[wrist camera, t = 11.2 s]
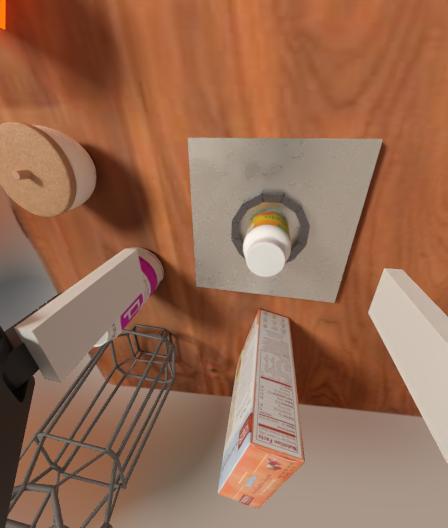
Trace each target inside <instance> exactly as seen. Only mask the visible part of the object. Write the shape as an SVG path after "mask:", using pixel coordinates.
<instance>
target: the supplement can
mask: <svg viewBox="0 0 448 528" xmlns="http://www.w3.org/2000/svg"><path fill="white" fill-rule="evenodd" d="M129 249H137V253H138V257H139V262H140V266H141V271H142V275H143V280H144V284H145V289H144V290H143V291H142V293H141V294H140V295H139V296H138V297H137V298H136V299H135V300H134V302H133V303H132V304H131V305H130V306H129V307H128V308H127V309H126V311H125V312H124V313H123V314H122V315H121V316H120V317H119V318H118V319H117V321H116V322H115V323H114V324H113V325H112V326H111V327H110V328H109V330H108V331H107V332H106V333H105V334H104V335H103V336H102V337H101V339H100V340H99V341H98V342H97V343H96V344H95V345H94V346H93V347H98V346H102V345H103V344H105V343H107V342H109V341H111V340H114V339H115V338H116V337H117V336H118V335H119V334H120V333H121V332H122V330H123V329H124V328H125V327H126V326H127V324H128V323H129V322H130V321H131V319H132V318H133V317H134V316H135V314H136V313H137V312H138V311H139V310H140V308H141V307H142V306H143V305H144V303H145V302H146V301H147V300H148V298H149V297H150V296H151V295H152V293H153V292H154V291H155V290H156V289H157V287H158V286H159V285H160V284H161V282H162V280H163V277H164V270H163V267H162V265H161V262H160V261H159V260H158V258H157V257H156V256H155V255H154V254H152V253H151V252H150V251H148V250H146V249H143V248H140V247H132V248H129Z"/></svg>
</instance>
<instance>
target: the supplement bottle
mask: <svg viewBox="0 0 448 528" xmlns="http://www.w3.org/2000/svg"><path fill="white" fill-rule="evenodd" d="M290 252H291V241H290V234H289V226H288V223H287V220H286V219H285V217H284V216H283V215H282V214H280V213H279V212H276V211H273V210H265V211H262V212H259V213H258V214H256V215H255V216H254V217H253V218H252V220H251V222H250V224H249V227H248V230H247V233H246V236H245V239H244V243H243V253H244V256H245V258H246V263H247V266H248V268H249V269H250V270H251V272H253V273H254V274H256V275H258V276H261V277H271V276H274V275H276V274H278V273H279V272H280V271H281V270H282V269H283V267H284V265H285V262H286V261H287V260H288V258H289V256H290Z"/></svg>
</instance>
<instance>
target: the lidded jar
mask: <svg viewBox="0 0 448 528" xmlns="http://www.w3.org/2000/svg"><path fill="white" fill-rule="evenodd" d="M0 184H1V186H2V187H3V188H4V190H5V191H6V192H7V194H8V195H9V196H10V197H11V198H12V199H13V200H14V201H15V202H16V203H17V204H18V205H20V206H21V207H23V208H24V209H26V210H27V211H29V212H31V213H33V214H36V215H39V216H43V217H54V216H58V215H61V214H63V213H65V212H67V211H70V210H72V209H74V208H76V207H78V206H80V205H82V204H83V203H84V202H86V201H87V200H88V199H89V198H90V196H91V195H92V194H93V191H94V189H95V186H96V168H95V165H94V163H93V161H92V159H91V157H90V156H89V154H88V153H87V152H86V150H85V149H84V148H83V147H82V146H81V145H80V144H79V143H78V142H77V141H76V140H74V139H73V138H71V137H70V136H68V135H67V134H65V133H63V132H60V131H58V130H55V129H52V128H48V127H44V126H40V125H32V124H27V123H22V122H6V123H3V124H1V125H0Z"/></svg>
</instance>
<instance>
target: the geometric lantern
mask: <svg viewBox="0 0 448 528" xmlns="http://www.w3.org/2000/svg"><path fill="white" fill-rule="evenodd" d="M135 326H137V327H143V328H150V329H156V330H162V332H161V334H160V335H154V334H147V333H140V332H135V331H134V328H135ZM164 331H165V332H166V335H165V337H164V336H162V334H163V332H164ZM122 332H125V333H127V334H120V335H118V336H117V337H119V336H126V335H127V338H128V341H129V345H130V348H131V352H132V355H133V357H131V358H129V359H128V360H126V361H124V362H123V363H121V364H119V365H117V360H116V355H115V350H114V345H113V340H111V341H109V342H107V343H105V344H103V345H102V346H101V347H100V348H99V349H98V351H97V352H96V353H95V355H94V356H93V357H92V359H91V360H90V362H89V363H88V364H87V366H86V367H85V368H84V370H83V371H82V372H81V374H80V375H79V376H78V378H77V379H76V380H75V382H74V383H73V384H72V386H71V387H70V388H69V390H68V391H67V393H66V394H65V395H64V397H63V398H62V399H61V401H60V402H59V403H58V405H57V406H56V407H55V409H54V410H53V411H52V413H51V414H50V415H49V417H48V418H47V419H46V421H45V422H44V424H43V425H42V426H41V428H40V429H39V430H38V432H37V433H36V434H35V435H34V436H33V438H32V439H31V441H30V442H29V443H28V445H27V446H26V448H25V449H24V451H23V452H22V454H21V455H20V458H19V461H20V459H21V458H22V456H23V455H24V453H25V452H26V451H27V449H28V448H29V446H30V445H31V443H32V442H33V441H35V443H36V444H37V446H38V447H37V449H36V451H35V454H34V456H33V459H32V461H31V463H30V466H29V468H28V470H27V473H26V475H25V478H24V480H23V482H22V485H19V486H16V487H13V492H12V494H13V495H12V497H11V501H12V500H13V501H12V502H11V504H10V507H9V511H8V514H9V513H10V511H11V510H12V508H13V506H14V505H15V504H16V502H17V500H18V499H19V497H20V496H21V494H22V493H23V492H24V491H25V490H27V491H37V492H47V495H46V497H45V499H44V501H43V503H42V505H41V507H40V509H39V511H38V513H37V515H36V517H35V518H34V521H33V522H32V524H31V525H27V524H24V523H20V522H17V521H14V520H10V519H7V521H6V526H5V528H35V527H36V523H37V522H38V519H39V518H40V516H41V514H42V512H43V509H44V508H45V506H46V503H47V502H48V500H49V498H50V496H51V501H52V507H53V513H54V515H53V522H54V523H55V525H53V526H51V527H50V528H69V527H67V526H65V525H63V520H62V515H61V509H60V504H59V499H58V487H59V486H60V485H61V484H63V483H64V482H66V481H67V480H68V479H70V478H73V479H77V480H81V481H85V482H89V483H93V484H97V485H101V486H105V487H109V493H108V494H107V495H106V496H105V498H104V499H103V500H102V501H101V503H100V504H99V505H98V506H97V508H96V509H95V510H94V511H93V512H92V514H91V515H90V516H89V517H88V519H87V520H86V521H85V522H84V523H83V525H82V526H81V527H80V528H85V527H86V526H87V525H88V523H89V522H90V520H91V519H92V518H93V517H94V516H95V515H96V513H97V512H98V511H99V510H100V508H101V507H102V506H103V504H104V503H105V502H106V501H107V500H108V501H107V507H106V514H105V520H104V524H103V525H102V526H101V528H113V527H112V526H111V525H110V524H109V521H110V518H111V515H112V512H113V509H114V506H115V502H116V499H117V496H118V493H119V490H120V488H124V489H126V484H127V482H128V480H129V478H130V476H131V474H132V471H133V469H134V467H135V465H136V463H137V460H138V458H139V456H140V454H141V452H142V450H143V447H144V445H145V443H146V441H147V439H148V437H149V434H150V432H151V430H152V428H153V426H154V423H155V421H156V419H157V417H158V415H159V412H160V410H161V408H162V406H163V404H164V402H165V400H166V397H167V395H168V393H169V391H170V389H171V387H172V385H173V382H174V380H175V345H174V344H172V343H171V342H170V335H169V332H168V331H167V330H165V329H162V328H155V327H149V326H142V325H135V324H134V325H133V327H132V328H131V330H126V329H123V330H122ZM129 334H133V337H134V341H135V345H136V349H137V351H136V353H135V354H134V352H133V348H132V345H131V341H130V338H129ZM135 335H139V336H144V337H149V338H153V339H158V340H160V342H159V344H158V346H157V348H156V350H155V352H154V354H152V353H147V352H142V351H141V350H139V349H138V345H137V341H136V337H135ZM167 335H168V340H167V339H166V338H167ZM163 341H164V343H165V349H166V356H164V355H158V354H157V353H158V351H159V349H160V347H161V345H162V343H163ZM166 343H167V344H168V345H169V347H170V353H169V355H168V350H167V344H166ZM109 344H110V346H111V351H112V355H113V360H114V365H115V367H114V368H113V370H112V371H111V373H110V375H109V376H108V378H107V379H106V381H105V382H104V384H103V385H102V387H101V389H100V390H99V392H98V393H97V395H96V396H95V398H94V400H93V401H92V403H91V404H90V406H89V408H88V409H87V411H86V412H85V414H84V415H83V417H82V418H81V420H80V422H79V423H78V425H77V426H76V428H75V430H74V431H73V433H72V434H71V436H70V437H69V439H67V438H63V437H59V436H55V435H51V434H49V433H50V432H51V430H52V429H53V427H54V426H55V424H56V423H57V421H58V420H59V418H60V417H61V415H62V414H63V412H64V411H65V409H66V408H67V406H68V405H69V403H70V402H71V400H72V399H73V397H74V396H75V394H76V393H77V392H78V390H79V389H80V387H81V386H82V384H83V382H84V381H85V380H86V378H87V377H88V375H89V374H90V372H91V371H92V369H93V368H94V366H95V365H96V363H97V362H98V360H99V359H100V357H101V356H102V354H103V353H104V351H105V350H106V348H107V347H108V345H109ZM171 347H172V349H171ZM138 351H139V352H140V353H141V354H140V356H139V357H138V359H137V358H136V357H135V356H136V354H137V353H138ZM142 354H148V355H153V356H152V358H151V360H142V359H140V357H141V356H142ZM156 356H159V357H165V358H166V360H165V362H159V361H154V359H155V357H156ZM171 357H172V367H173V372H172V369H171V365H170V359H171ZM133 358H134V359H136V360H135V362H134V363H133V364H132V366H131V367H130V369H129V370H128V372H127V373H126V372H124V371H123V370H122V369H121V368H120V367H119V366H121V365H123V364H124V363H126V362H128V361H129V360H131V359H133ZM93 361H94V362H93ZM137 361H143V362H149V364H148V366H147V368H146V370H145V372H144V374H143V376H139V375H134V374H129V372H130V370H131V369H132V367H133V366H134V364H135V363H136V362H137ZM152 363H160V364H163V366H162V368H161V370H160V372H159V373H158V375H157V377H156V379H154V378H149V377H146V376H147V374H148V372H149V370H150V367H151V365H152ZM91 364H92V365H91ZM167 364H168V365H169V368H170V371H171V374H172V379H170V380H168V376H167ZM88 368H89V369H88ZM165 368H166V381H164V380H159V378H160V377H161V375H162V373H163V371H164V369H165ZM116 369H118V370H119V371H120V372H121V373H122V374H123V375H124V376H123V377H122V379H121V380H120V382H119V383H118V385H117V386H116V388H115V389H114V391H113V392H112V394H111V395H110V397H109V398H108V400H107V401H106V403H105V405H104V406H103V407H102V409H101V410H100V412H99V414H98V415H97V417H96V418H95V420H94V421H93V422H92V424H91V426H90V427H89V429H88V430H87V432H86V433H85V435H84V436H83V438H82V439H81V441H80V442H78V441H74V440H72V439H73V437H74V436H75V434H76V432H77V431H78V429H79V428H80V426H81V424H82V423H83V421H84V420H85V418H86V416H87V415H88V413H89V412H90V410H91V408H92V407H93V405H94V404H95V402H96V400H97V398H98V397H99V396H100V394H101V392H102V391H103V389H104V388H105V386H106V384H107V383H108V381H109V379H110V378H111V376H112V375H113V373H114V371H115V370H116ZM86 371H87V372H86ZM85 372H86V373H85ZM84 374H85V375H84ZM83 375H84V376H83ZM126 376H130V377H134V378H139V379H141V380H140V382H139V384H138V386H137V388H136V390H135V392H134V394H133V396H132V398H131V400H130V402H129V404H128V406H127V408H126V410H125V412H124V414H123V416H122V418H121V420H120V422H119V424H118V426H117V428H116V430H115V432H114V434H113V435H112V437H111V440H110V441H109V443H108V445H107V447H106V449H105V448H101V447H98V446H94V445H90V444H86V443H83V442H84V440H85V439H86V437H87V436H88V434H89V432H90V431H91V429H92V428H93V426H94V425H95V423H96V422H97V420H98V419H99V417H100V416H101V414H102V413H103V411H104V410H105V408H106V406H107V405H108V403H109V402H110V400H111V398H112V397H113V396H114V394H115V393H116V391H117V389H118V388H119V386H120V385H121V383H122V382H123V380H124V379H125V377H126ZM82 377H83V378H82ZM81 378H82V379H81ZM80 379H81V381H80ZM144 380H149V381H154V383H153V385H152V387H151V389H150V391H149V393H148V394H147V396H146V398H145V400H144V402H143V404H142V406H141V408H140V409H139V411H138V413H137V415H136V417H135V419H134V421H133V423H132V425H131V426H130V428H129V430H128V432H127V434H126V436H125V438H124V440H123V442H122V444H121V446H120V448H119V450H118V452H117V454H116V453H115V452H114V451H113V450H112V449H111V447H112V445H113V443H114V441H115V439H116V437H117V435H118V433H119V431H120V429H121V427H122V425H123V423H124V421H125V419H126V417H127V414H128V413H129V410H130V408H131V406H132V404H133V402H134V400H135V398H136V396H137V394H138V392H139V390H140V388H141V386H142V384H143V382H144ZM79 381H80V382H79ZM78 382H79V383H78ZM157 382H159V383H164V385H163V387H162V389H161V391H160V393H159V395H158V397H157V399H156V401H155V403H154V405H153V407H152V409H151V411H150V413H149V415H148V417H147V419H146V421H145V423H144V425H143V427H142V429H141V431H140V433H139V435H138V436H137V438H136V441H135V443H134V445H133V446H132V448H131V451H130V453H129V454H128V456H127V458H126V460H125V462H124V464H123V466H122V468H121V464H120V461H119V456H120V454H121V452H122V450H123V449H124V447H125V445H126V443H127V441H128V439H129V437H130V435H131V433H132V431H133V429H134V427H135V425H136V423H137V421H138V419H139V417H140V416H141V413H142V412H143V410H144V407H145V406H146V404H147V401H148V400H149V398H150V396H151V394H152V392H153V390H154V388H155V386H156V384H157ZM170 382H171V383H170ZM167 383H170V385H169V387H168V389H167V391H166V393H165V395H164V397H163V399H162V401H161V404H160V406H159V408H158V410H157V412H156V414H155V417H154V418H153V421H152V423H151V425H150V427H149V429H148V431H147V433H146V435H145V438H144V440H143V442H142V444H141V446H140V448H139V450H138V452H137V455H136V457H135V459H134V461H133V463H132V465H131V467H130V469H129V471H128V473H127V475H126V478H125V479H124V476H123V472H124V470H125V468H126V466H127V464H128V462H129V460H130V458H131V456H132V454H133V452H134V450H135V448H136V446H137V443H138V441H139V440H140V438H141V435H142V433H143V431H144V429H145V427H146V425H147V423H148V421H149V419H150V417H151V415H152V413H153V411H154V409H155V407H156V405H157V403H158V401H159V398H160V397H161V395H162V393H163V391H164V389H165V387H166V385H167ZM77 384H78V385H77ZM76 385H77V386H76ZM75 386H76V388H75ZM74 388H75V389H74ZM73 389H74V391H73V392H72V390H73ZM71 392H72V394H71V395H70V393H71ZM69 395H70V396H69ZM68 396H69V398H68V400H67V401H66V402H65V404H64V405H63V407H62V408H61V410H60V411H59V412H58V414H57V415H56V417H55V418H54V420H53V421H52V423H51V424H50V425H49V427H48V429H47V430H46V431H45V432H43V430H44V429H45V428H46V426H47V425H48V424H49V422H50V421H51V419H52V418H53V417H54V415H55V414H56V413H57V411H58V410H59V408H60V407H61V406H62V404H63V403H64V401H65V400H66V399H67V397H68ZM46 437H47V438H51V439H55V440H58V441H62V442H66V444H65V445H64V447H63V449H62V450H61V452H60V453H59V455H58V457H57V458H56V459H55V461H54V463H53V462H52V461H51V459H50V457H49V456H48V454H47V452H46V451H45V449H44V448H43V443H44V441H45V439H46ZM38 438H41V439H40V441H39V439H38ZM69 444H74V445H77V447H76V448H75V450H74V451H73V453H72V454H71V456H70V457H69V459H68V460H67V462H66V463H65V465H64V466H63V468H61V467H60V466H58V465H57V462H58V461H59V459H60V458H61V456H62V455H63V453H64V451H65V450H66V448H67V447H68V445H69ZM81 446H82V447H85V448H90V449H93V450H97V451H101V452H102V453H101V454H99V455H98V456H97V457H95V458H94V459H92V460H91V461H90V462H88V463H86V464H85V465H84V466H82V467H81V468H80V469H78V470H76V471H75V472H73V473H72V474H68V473H64V471H65V470H66V468H67V467H68V465H69V464H70V462H71V461H72V459H73V457H74V456H75V454H76V452H77V451H78V450H79V448H80V447H81ZM40 451H41V452H42V454H43V455H44V457H45V458H46V460H47V462H48V463H49V465H50V466H51V467H50V468H48V469H47V470H46V471H44V472H43V473H41V474H40V475H39V476H37V477H36V478H35V479H34V480H32V481H31V482H29V483H28V481H29V479H30V476H31V474H32V471H33V469H34V466H35V463H36V461H37V459H38V456H39V454H40ZM106 453H107V454H108V455H109V456H110V457H111V458H112V459H114V463H113V469H112V475H111V482H110V484H108V483H103V482H100V481H96V480H92V479H88V478H84V477H80V476H76V474H77V473H78V472H80V471H81V470H83V469H84V468H85V467H87V466H88V465H90V464H91V463H93V462H94V461H96V460H97V459H98V458H100V457H101V456H103V455H104V454H106ZM117 467H118V470H119V474H118V476H117V478H116V480H115V477H116V470H117ZM53 469H54V470H56V471H57V482H56V485H55V486H54V485H45V484H35V482H37V481H38V480H39V479H41V478H42V477H43V476H45V475H46V474H47V473H48V472H50V471H51V470H53ZM60 474H62V476H65V477H66V478H65V479H63V480H62V481H60V482H59V476H60ZM120 478H121V481H122V483H118V482H119V480H120ZM116 489H117V493H116V495H115V498H114V501H113V505H112V507H111V504H112V497H113V492H114V491H115V490H116Z"/></svg>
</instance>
